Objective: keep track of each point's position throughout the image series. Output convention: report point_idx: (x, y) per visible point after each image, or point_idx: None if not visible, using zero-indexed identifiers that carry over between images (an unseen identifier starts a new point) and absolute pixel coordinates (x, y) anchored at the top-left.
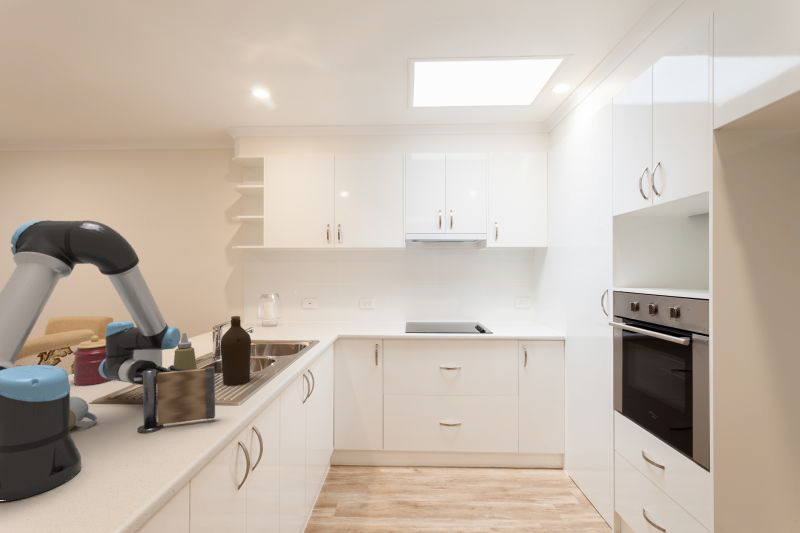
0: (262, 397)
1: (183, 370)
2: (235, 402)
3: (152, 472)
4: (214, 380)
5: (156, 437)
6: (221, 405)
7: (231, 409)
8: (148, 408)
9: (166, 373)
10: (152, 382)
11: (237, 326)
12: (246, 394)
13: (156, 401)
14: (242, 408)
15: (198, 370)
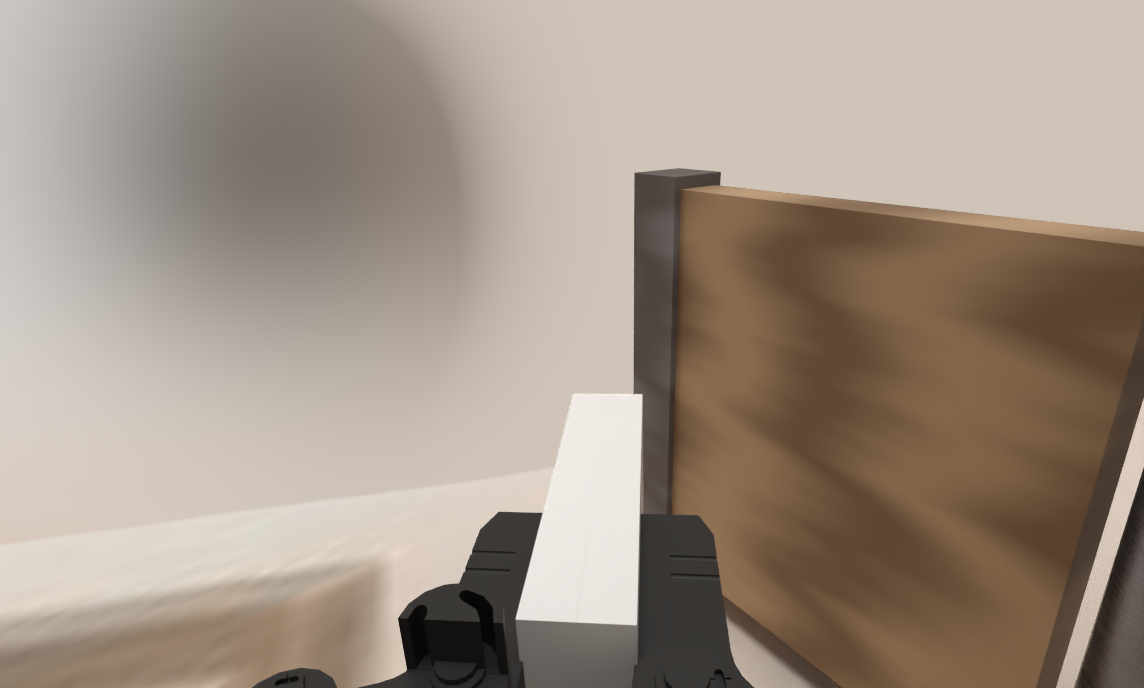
0: (223, 526)
1: (305, 674)
2: (308, 616)
3: (1130, 447)
4: (641, 287)
5: (1066, 670)
6: (376, 670)
7: (459, 562)
8: None
9: (1053, 222)
10: None
11: None
12: (90, 650)
13: (1099, 610)
14: (435, 523)
15: (756, 190)
